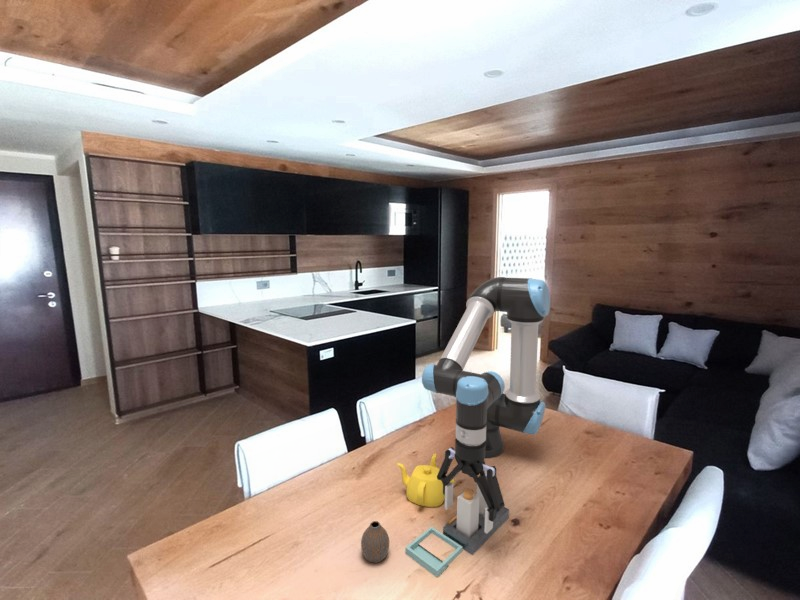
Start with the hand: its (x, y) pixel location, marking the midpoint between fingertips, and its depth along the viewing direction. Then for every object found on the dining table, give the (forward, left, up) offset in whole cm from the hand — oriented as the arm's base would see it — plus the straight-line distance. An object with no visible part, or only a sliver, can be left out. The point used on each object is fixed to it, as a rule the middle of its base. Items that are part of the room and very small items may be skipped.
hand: (467, 518), depth 101 cm
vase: (-13, -21, -6) cm, 25 cm away
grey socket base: (0, +4, -6) cm, 7 cm away
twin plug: (0, +9, -5) cm, 10 cm away
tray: (-3, -10, -6) cm, 12 cm away
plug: (0, 0, -5) cm, 5 cm away
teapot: (-19, +5, -6) cm, 21 cm away
